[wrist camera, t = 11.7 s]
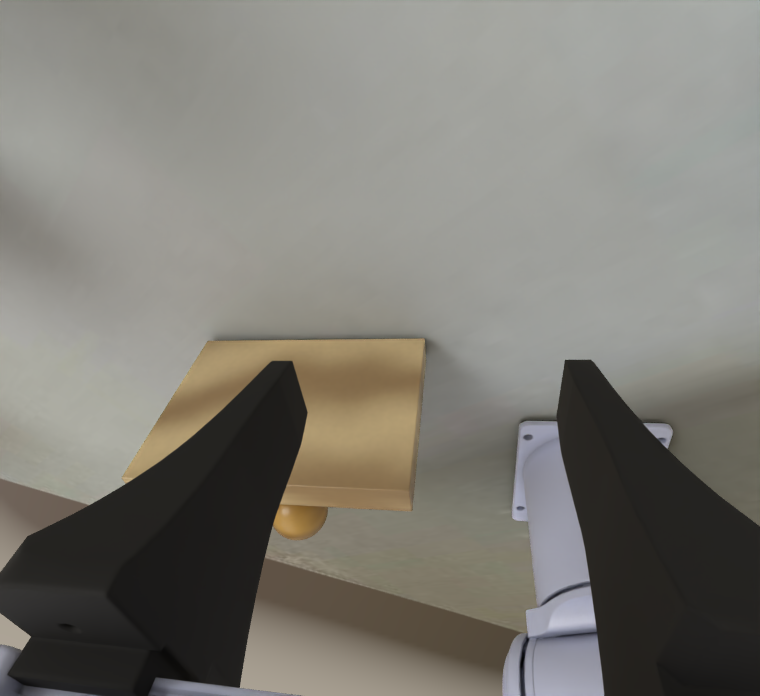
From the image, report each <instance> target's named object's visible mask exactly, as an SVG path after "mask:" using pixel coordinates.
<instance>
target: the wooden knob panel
mask: <svg viewBox="0 0 760 696" xmlns="http://www.w3.org/2000/svg"><path fill="white" fill-rule="evenodd" d="M271 361H293V364H294V368H295V371H296V374H297V378H298V381H299V385H300V388H301V391H302V395H303V398H304V401H305V405H306V408H307V412H308V414H307V419H306V424H305V429H304V434H303V438H302V443H301V446H300V449H299V452H298V455H297V458H296V461H295V464H294V467H293V469H292V472H291V475H290V478H289V480H288V483H287V486H286V489H285V492H284V494H283V497H282V500H281V503H280V505H279V508H278V511H277V514H276V517H275V520H274V523H273V527H274V528H275V530H276V531H277V532H278V533H279V534H280V535H282V536H283V537H285V538H287V539H291V540H304V539H307V538H309V537H311V536H313V535H315V534H316V533H317V532H318V531H319V530H320V529H321V528H322V526H323V524H324V523H325V520H326V517H327V513H328V507H339V508H358V509H377V510H396V511H412V510H413V499H414V488H415V477H416V466H417V455H418V444H419V433H420V422H421V411H422V400H423V389H424V378H425V367H426V349H425V339H424V338H422V339H329V340H235V341H207V343H206V344H205V346H204V348H203V349H202V351H201V352H200V354H199V356H198V357H197V359H196V360H195V362H194V364H193V365H192V367H191V368H190V370H189V371H188V373H187V375H186V376H185V378H184V379H183V381H182V383H181V384H180V386H179V387H178V389H177V391H176V392H175V394H174V395H173V397H172V398H171V400H170V402H169V403H168V405H167V406H166V408H165V410H164V411H163V413H162V414H161V416H160V417H159V419H158V421H157V422H156V424H155V425H154V427H153V429H152V430H151V432H150V433H149V435H148V437H147V438H146V440H145V441H144V443H143V444H142V446H141V448H140V449H139V451H138V452H137V454H136V456H135V457H134V459H133V460H132V462H131V464H130V465H129V467H128V468H127V470H126V471H125V473H124V475H123V476H122V479H123V480H124V482H125V483H126V484H127V483H128V482H130V481H131V480H133V479H134V478H136V477H137V476H139V475H140V474H142V473H143V472H145V471H146V470H148V469H149V468H151V467H152V466H154V465H155V464H157V463H158V462H159V461H161V460H162V459H164V458H165V457H166V456H168V455H169V454H170V453H172V452H173V451H174V450H175V449H177V448H178V447H179V446H181V445H182V444H183V443H184V442H186V441H187V440H188V439H189V438H191V437H192V436H193V435H194V434H195V433H196V432H198V431H199V430H200V429H201V428H202V427H203V426H204V425H205V424H207V423H208V422H209V421H210V420H211V419H212V418H213V417H214V416H216V415H217V414H218V413H219V412H220V411H221V410H222V409H223V408H224V407H225V406H226V405H227V404H228V403H229V402H230V401H231V400H232V399H234V398H235V397H236V396H237V395H238V394H239V393H240V392H241V391H242V390H243V389H244V388H245V387H246V386H247V385H248V384H249V383H250V382H251V381H252V380H253V379H254V378H255V377H256V376H257V375H258V374H259V373H260V372H261V371H262V370H263V369H264V368H265V367H266V366H267V365H268V364H269V363H270V362H271Z"/></svg>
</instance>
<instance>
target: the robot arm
mask: <svg viewBox="0 0 760 696" xmlns="http://www.w3.org/2000/svg"><path fill="white" fill-rule="evenodd" d="M307 414H308V412H307V408H306V405H305V401H304V398H303V395H302V391H301V388H300V385H299V381H298V378H297V374H296V371H295V368H294V364H293V361H271V362H270V363H269V364H268V365H267V366H266V367H265V368H264V369H263V370H262V371H261V372H260V373H259V374H258V375H257V376H256V377H255V378H254V379H253V380H252V381H251V382H250V383H249V384H248V385H247V386H246V387H245V388H244V389H243V390H242V391H241V392H240V393H239V394H238V395H237V396H236V397H235V398H234V399H232V400H231V401H230V402H229V403H228V404H227V405H226V406H225V407H224V408H223V409H222V410H221V411H220V412H219V413H218V414H217V415H216V416H214V417H213V418H212V419H211V420H210V421H209V422H208V423H207V424H205V425H204V426H203V427H202V428H201V429H200V430H199V431H198V432H196V433H195V434H194V435H193V436H192V437H191V438H189V439H188V440H187V441H186V442H184V443H183V444H182V445H181V446H179V447H178V448H177V449H175V450H174V451H173V452H172V453H170V454H169V455H168V456H166V457H165V458H164V459H162V460H161V461H159V462H158V463H157V464H155V465H154V466H152V467H151V468H149V469H148V470H146V471H145V472H143V473H142V474H140V475H139V476H137V477H136V478H134V479H133V480H131V481H130V482H128V483H127V484H125V485H123V486H122V487H120V488H119V489H117V490H115V491H113V492H112V493H110V494H108V495H107V496H105V497H103V498H102V499H100V500H98V501H96V502H94V503H93V504H91V505H89V506H87V507H85V508H84V509H82V510H80V511H78V512H76V513H74V514H72V515H71V516H68V517H66V518H64V519H62V520H60V521H58V522H56V523H54V524H52V525H50V526H48V527H46V528H44V529H42V530H40V531H38V532H36V533H34V534H31V535H29V536H27V538H26V539H25V540H24V542H23V543H22V544H21V546H20V547H19V548H18V550H17V551H16V552H15V554H14V555H13V556H12V558H11V559H10V560H9V562H8V563H7V564H6V566H5V567H4V568H3V570H2V571H1V572H0V613H1V614H2V615H4V616H5V617H6V618H8V619H9V620H10V621H12V622H13V623H14V624H15V625H17V626H18V627H19V628H21V629H22V630H23V631H25V632H26V633H27V634H29V635H30V636H31V638H30V639H29V641H28V643H27V644H26V646H25V647H24V649H23V650H20V649H17V648H14V647H11V646H7V645H0V696H299V695H292V694H284V693H276V692H268V691H260V690H252V689H244V688H240V682H241V675H242V669H243V663H244V657H245V651H246V645H247V639H248V634H249V629H250V623H251V618H252V613H253V608H254V603H255V598H256V593H257V589H258V584H259V580H260V575H261V570H262V566H263V561H264V558H265V554H266V550H267V546H268V541H269V537H270V533H271V530H272V526H273V523H274V520H275V517H276V514H277V511H278V508H279V505H280V503H281V500H282V497H283V494H284V492H285V489H286V486H287V483H288V480H289V478H290V475H291V472H292V469H293V467H294V464H295V461H296V458H297V455H298V452H299V449H300V446H301V443H302V438H303V434H304V429H305V424H306V419H307ZM527 434H529V435H527ZM672 435H673V430H672V428H671V426H670V425H668V424H664V423H642V422H641V420H640V419H639V418H638V417H637V416H636V415H635V414H634V412H633V411H632V410H631V409H630V408H629V407H628V406H627V404H626V403H625V402H624V401H623V400H622V398H621V397H620V396H619V395H618V393H617V392H616V391H615V390H614V388H613V387H612V386H611V384H610V383H609V382H608V381H607V379H606V378H605V377H604V375H603V374H602V373H601V371H600V370H599V369H598V367H597V366H596V365H595V363H594V362H593V361H592V360H565V364H564V371H563V377H562V384H561V390H560V397H559V404H558V410H557V421H524V422H522V423H521V424H520V425H519V432H518V443H517V455H516V467H515V479H514V491H513V502H512V518H513V519H515V520H517V521H528V526H529V535H530V545H531V554H532V563H533V572H534V581H535V590H536V599H537V606H538V607H537V608H534V609H529V610H526V620H527V631H528V633H522V634H519V635H518V636H516V637H515V639H514V640H513V642H512V645H511V647H510V651H509V652H508V654H507V657H506V660H505V664H504V671H503V696H760V526H759V525H757V524H756V523H754V522H753V521H752V520H750V519H749V518H748V517H747V516H745V515H744V514H743V513H741V512H740V511H739V510H737V509H736V508H735V507H733V506H732V505H731V504H729V503H728V502H727V501H725V500H724V499H723V498H722V497H720V496H719V495H718V494H717V493H715V492H714V491H713V490H712V489H711V488H709V487H708V486H707V485H706V484H705V483H703V482H702V481H701V480H700V479H699V478H698V477H697V476H695V475H694V474H693V473H692V472H691V471H690V470H689V469H688V468H687V467H685V466H684V465H683V464H682V463H681V462H680V461H679V460H678V459H677V458H676V457H675V456H674V455H673V454H672V453H671V452H670V451H669V450H668V446H669V443H670V441H671V438H672Z"/></svg>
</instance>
